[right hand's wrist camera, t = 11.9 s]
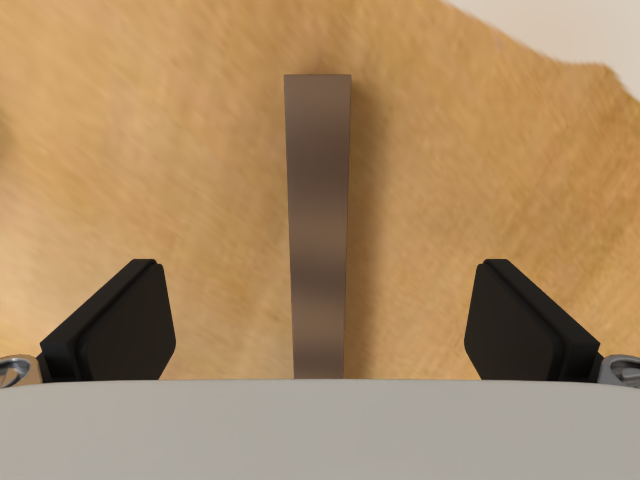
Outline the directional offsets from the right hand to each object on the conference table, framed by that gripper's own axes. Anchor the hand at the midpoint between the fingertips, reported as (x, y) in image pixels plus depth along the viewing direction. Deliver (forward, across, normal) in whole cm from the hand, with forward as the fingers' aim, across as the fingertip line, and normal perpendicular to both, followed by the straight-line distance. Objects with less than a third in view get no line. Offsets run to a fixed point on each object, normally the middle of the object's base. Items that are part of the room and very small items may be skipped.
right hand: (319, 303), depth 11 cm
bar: (+23, 0, +34) cm, 41 cm away
